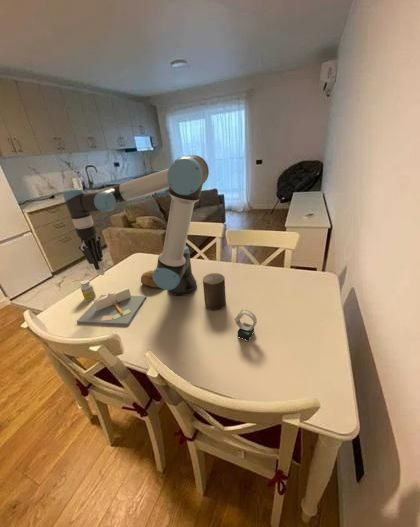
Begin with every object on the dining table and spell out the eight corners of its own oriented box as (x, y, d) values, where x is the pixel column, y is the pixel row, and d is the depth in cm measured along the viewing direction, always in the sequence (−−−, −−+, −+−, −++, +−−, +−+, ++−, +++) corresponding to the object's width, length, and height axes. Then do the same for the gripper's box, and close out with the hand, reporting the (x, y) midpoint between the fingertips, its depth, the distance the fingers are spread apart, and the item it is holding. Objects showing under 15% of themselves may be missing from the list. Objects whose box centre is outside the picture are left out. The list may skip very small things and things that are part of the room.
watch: (239, 327, 94) (238, 304, 89) (258, 333, 90) (259, 310, 85) (232, 336, 90) (232, 313, 85) (252, 343, 86) (253, 319, 81)
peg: (129, 294, 118) (126, 285, 115) (139, 306, 109) (136, 296, 106) (95, 308, 110) (92, 298, 107) (103, 322, 100) (99, 311, 98)
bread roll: (159, 292, 121) (157, 279, 118) (137, 287, 127) (133, 274, 124) (170, 283, 129) (167, 270, 125) (148, 278, 135) (145, 266, 132)
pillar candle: (224, 311, 104) (222, 281, 97) (202, 309, 106) (199, 280, 99) (227, 298, 112) (226, 270, 106) (207, 297, 114) (204, 269, 108)
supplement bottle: (95, 299, 120) (89, 283, 115) (84, 301, 118) (77, 285, 114) (96, 293, 124) (91, 278, 120) (85, 296, 123) (79, 280, 119)
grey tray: (146, 298, 117) (145, 295, 117) (128, 325, 100) (127, 323, 99) (102, 296, 121) (101, 294, 121) (77, 323, 104) (76, 320, 103)
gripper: (85, 222, 107) (101, 268, 118) (66, 231, 96) (85, 281, 106) (100, 221, 106) (115, 267, 117) (83, 231, 95) (101, 281, 105)
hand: (101, 274), depth 112 cm, fingers closed
